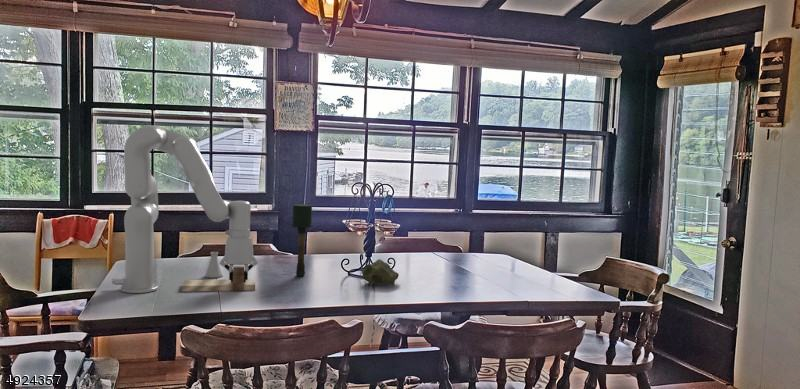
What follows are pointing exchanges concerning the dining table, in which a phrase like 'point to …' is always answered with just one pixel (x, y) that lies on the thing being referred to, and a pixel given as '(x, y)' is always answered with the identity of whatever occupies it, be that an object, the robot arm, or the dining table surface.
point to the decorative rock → (379, 273)
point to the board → (214, 285)
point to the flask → (214, 267)
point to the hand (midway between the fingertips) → (238, 281)
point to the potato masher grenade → (301, 231)
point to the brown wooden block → (238, 278)
